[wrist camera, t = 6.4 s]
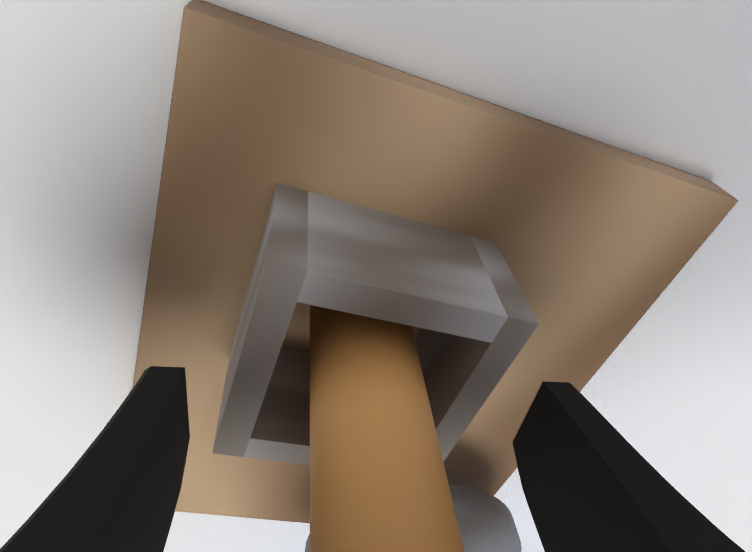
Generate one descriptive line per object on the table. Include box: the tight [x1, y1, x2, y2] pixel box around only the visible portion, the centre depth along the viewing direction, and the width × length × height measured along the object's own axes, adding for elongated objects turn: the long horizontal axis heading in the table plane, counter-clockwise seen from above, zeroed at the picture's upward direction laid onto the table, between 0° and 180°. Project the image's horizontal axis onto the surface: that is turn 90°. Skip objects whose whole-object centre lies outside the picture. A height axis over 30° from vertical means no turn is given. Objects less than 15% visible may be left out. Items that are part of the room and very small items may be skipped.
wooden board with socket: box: [133, 0, 738, 552], centre depth 14 cm, size 13×17×6 cm
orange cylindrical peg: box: [310, 305, 464, 552], centre depth 10 cm, size 2×2×7 cm
